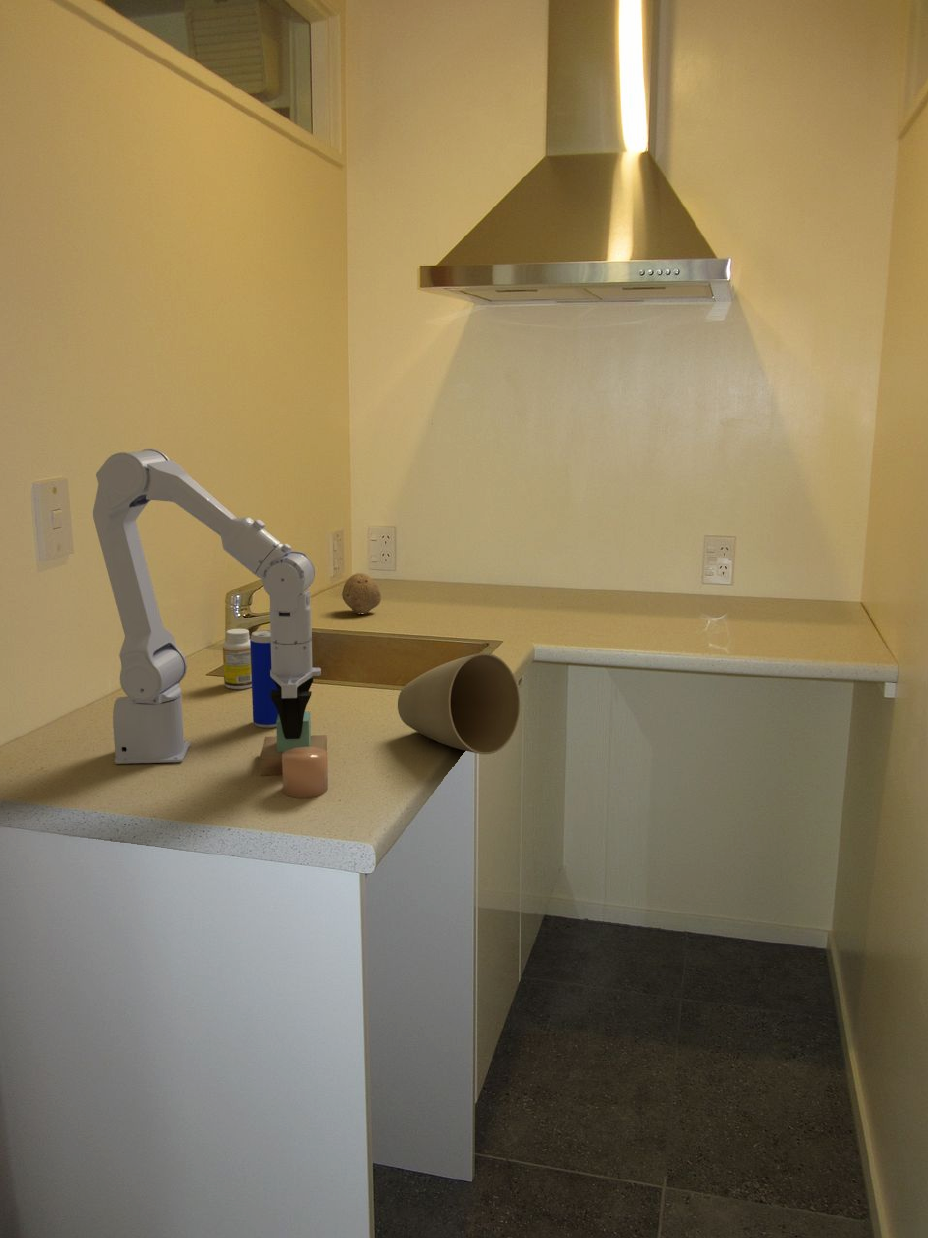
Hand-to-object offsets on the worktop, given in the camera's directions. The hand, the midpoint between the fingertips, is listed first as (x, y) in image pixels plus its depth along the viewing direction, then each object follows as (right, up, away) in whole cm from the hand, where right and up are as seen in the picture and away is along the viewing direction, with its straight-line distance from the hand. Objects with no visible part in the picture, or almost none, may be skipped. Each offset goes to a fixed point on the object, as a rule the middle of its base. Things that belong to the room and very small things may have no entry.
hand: (293, 731), depth 145 cm
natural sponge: (0, +17, +97) cm, 99 cm away
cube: (0, -2, +1) cm, 2 cm away
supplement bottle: (-16, +4, +38) cm, 42 cm away
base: (0, -5, +1) cm, 5 cm away
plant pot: (+16, +2, +15) cm, 23 cm away
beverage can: (-7, -1, +18) cm, 19 cm away
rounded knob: (+3, -7, -8) cm, 11 cm away
